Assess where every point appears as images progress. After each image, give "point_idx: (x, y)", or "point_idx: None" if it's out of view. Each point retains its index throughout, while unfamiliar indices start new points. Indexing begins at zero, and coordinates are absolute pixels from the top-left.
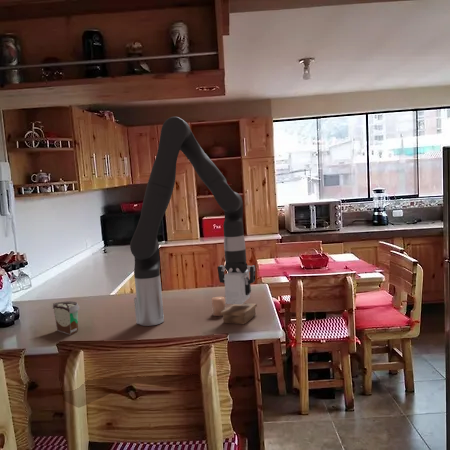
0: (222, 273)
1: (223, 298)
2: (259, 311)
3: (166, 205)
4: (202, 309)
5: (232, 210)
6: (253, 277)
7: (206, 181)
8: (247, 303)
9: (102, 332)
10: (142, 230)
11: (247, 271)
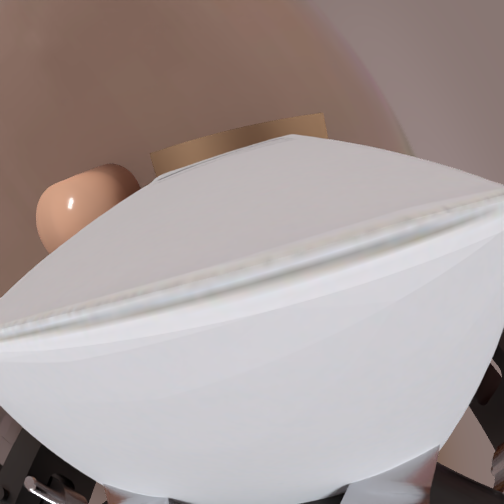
0: (78, 471)
1: (90, 211)
2: (286, 62)
3: None
4: (19, 180)
5: None
6: (501, 378)
7: None
8: (254, 127)
9: None
10: None
11: (474, 370)
